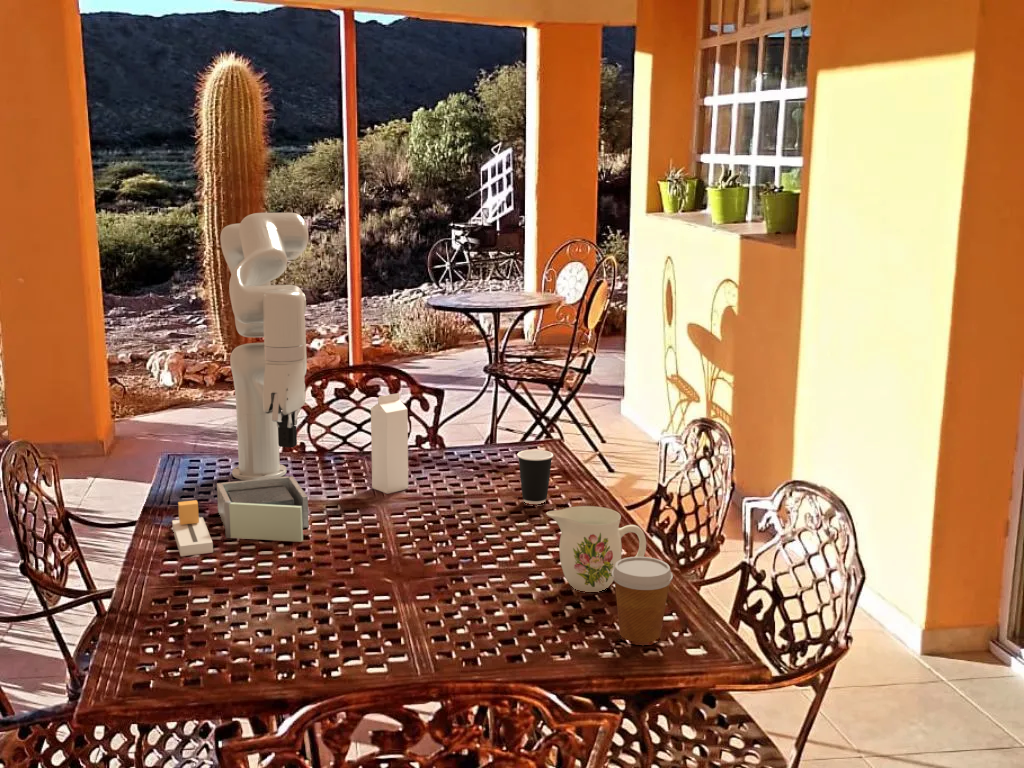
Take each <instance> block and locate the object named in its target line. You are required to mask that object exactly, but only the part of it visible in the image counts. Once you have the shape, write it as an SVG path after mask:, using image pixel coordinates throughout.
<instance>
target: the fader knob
mask: <svg viewBox="0 0 1024 768" xmlns="http://www.w3.org/2000/svg"><path fill="white" fill-rule="evenodd" d="M177 504H178V505H177V506H178V507H177V508H178V520H179V522H180V525H183V524H192V523H199V518H200V516H199V515H200V514H199V503H198V500H196V499H195V500H194V499H193V500H183V501H178V502H177Z"/></svg>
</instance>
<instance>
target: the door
mask: <svg viewBox="0 0 1024 768" xmlns="http://www.w3.org/2000/svg"><path fill="white" fill-rule="evenodd" d="M224 511H225V527H224V529H225V530H224V531H225V538H227V539H243V540H245V539H247V540H265V541H282V542H300V543H301V542H303V541H304V530H303V529H304V528H303V522H302V506H291V505H272V504H253V503H234V502H231V501H225V502H224Z"/></svg>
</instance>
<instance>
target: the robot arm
mask: <svg viewBox="0 0 1024 768" xmlns="http://www.w3.org/2000/svg"><path fill="white" fill-rule="evenodd" d="M219 237H220V247H221V251H222V254H223V257H224V261H225V262H226V264H227V267H228V269H229V273H230V274H231V275H230V279H229V286H228V287H229V289H228V291H229V298H230V303H231V308H232V309H231V310H232V312H233V315H234V325H235V328H236V331H237V333H238V334H239V335H240V336H242V337H245V338H263V339H264V340H263V342H251V343H249V342H248V343H244V344H241V345H238V346H236V347H235V348H234V349H233V350H232V351H231V353H230V356H229V359H230V360H229V361H230V362H229V363H230V370H231V373H232V374H231V375H232V379H233V387H234V393H235V412H236V426H237V427H236V429H237V430H236V432H237V433H236V434H237V435H236V436H237V453H238V465H237V466H236V467H234V468H233V469H232V471H231V473H232V477H233V478H235V479H237V480H239V481H245V480H255V479H265V478H275V477H284V476H285V475H286V474H287V467H286V465H284V464H282V463H280V448H294V447H296V446H297V445H298V436H297V432H298V431H297V424H298V415H299V413H300V412H301V409H302V407H303V406H305V404H306V380H305V379H306V378H305V376H306V375H307V367H308V366H307V365H308V364H307V363H308V361H307V360H308V357H307V336H306V335H307V333H306V330H307V329H306V316H305V313H306V311H307V301H306V300H307V298H306V295H305V293H304V292H303V291H302V289H301V288H300V287H299V286H297V285H294V284H271V282H273V281H274V280H276V279H278V278H279V277H280V276H282V275H283V274H284V273H285V271H286V268H287V266H288V261H293V260H296V259H298V258H300V256H301V255H302V254H303V253H305V251H306V249H307V247H308V244H309V228H308V225H307V222H306V221H305V219H304V218H303V216H301V215H300V214H299V213H295V212H255V213H252V214H248V215H246V216H245V217H243V218H242V220H241V222H240V223H231V224H229V225H228V224H227V225H226V226H224V227H223V228H222V230H221V232H220V236H219Z"/></svg>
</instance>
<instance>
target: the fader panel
mask: <svg viewBox="0 0 1024 768" xmlns="http://www.w3.org/2000/svg"><path fill="white" fill-rule="evenodd" d="M171 521H172V522H171V523H172V533H173V532H174V533H173V535H174V539H175V542H176V546H177V550H178V552H179V557H186V556H195V555H201V554H202V555H203V554H210V553H211V554H212V553H214V543H213V540H212V538H211V535H210V532H209V530H208V527H207V524H206V522H205V519H204V517H202V516H201V517H200V516H199V523H192V524H183V525H180V522H179V519H175V520H174V519H173V520H171Z"/></svg>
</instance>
